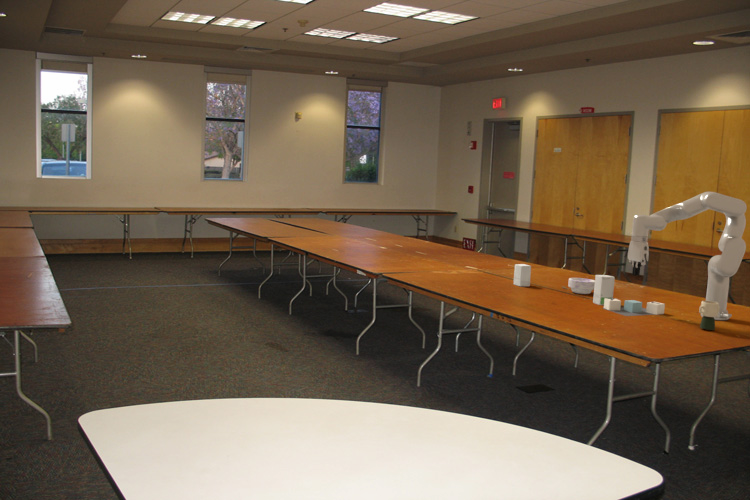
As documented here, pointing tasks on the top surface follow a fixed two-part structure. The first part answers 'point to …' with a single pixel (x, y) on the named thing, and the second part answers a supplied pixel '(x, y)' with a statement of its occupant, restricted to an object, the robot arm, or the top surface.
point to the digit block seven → (612, 304)
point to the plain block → (632, 306)
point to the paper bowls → (581, 285)
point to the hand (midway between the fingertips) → (635, 275)
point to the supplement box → (522, 275)
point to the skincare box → (603, 288)
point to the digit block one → (655, 308)
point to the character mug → (708, 314)
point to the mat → (627, 313)
